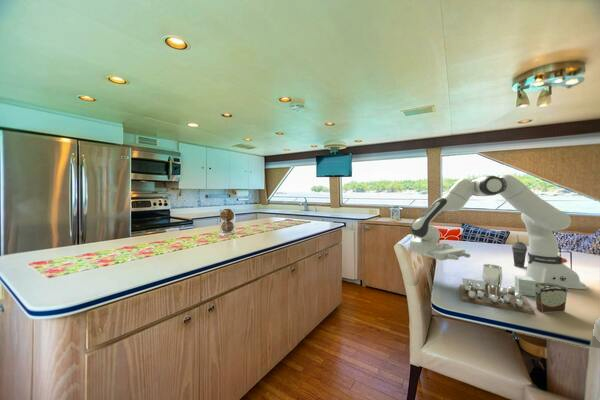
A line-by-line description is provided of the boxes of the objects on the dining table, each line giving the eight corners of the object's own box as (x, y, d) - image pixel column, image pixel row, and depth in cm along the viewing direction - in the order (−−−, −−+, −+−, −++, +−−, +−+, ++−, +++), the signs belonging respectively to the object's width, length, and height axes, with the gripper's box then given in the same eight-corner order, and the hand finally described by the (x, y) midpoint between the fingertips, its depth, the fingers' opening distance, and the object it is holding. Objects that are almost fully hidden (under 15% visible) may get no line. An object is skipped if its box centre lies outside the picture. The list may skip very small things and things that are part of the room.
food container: (551, 304, 104) (552, 281, 103) (568, 311, 98) (568, 287, 97) (524, 305, 103) (524, 282, 103) (538, 312, 97) (539, 288, 97)
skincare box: (530, 291, 117) (530, 276, 117) (535, 296, 112) (536, 281, 111) (514, 289, 120) (514, 274, 119) (518, 294, 114) (519, 279, 114)
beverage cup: (521, 268, 150) (522, 236, 149) (508, 265, 157) (509, 234, 156) (529, 267, 152) (530, 235, 151) (516, 264, 159) (517, 233, 158)
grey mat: (491, 282, 129) (491, 282, 129) (495, 291, 118) (495, 290, 118) (462, 278, 135) (462, 278, 135) (463, 285, 125) (463, 285, 125)
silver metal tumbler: (505, 302, 106) (506, 269, 106) (487, 301, 108) (487, 268, 107) (496, 295, 113) (496, 264, 112) (479, 295, 114) (479, 263, 114)
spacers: (517, 296, 112) (517, 287, 112) (527, 312, 98) (527, 302, 97) (464, 287, 123) (464, 279, 123) (465, 301, 108) (465, 292, 108)
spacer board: (522, 296, 112) (522, 294, 112) (533, 314, 96) (533, 311, 96) (459, 286, 124) (459, 284, 124) (461, 300, 109) (461, 298, 109)
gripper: (424, 247, 129) (450, 253, 116) (449, 243, 137) (475, 248, 125) (424, 258, 129) (450, 266, 116) (449, 254, 138) (475, 260, 125)
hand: (463, 257), depth 121 cm, fingers open, 8 cm apart
